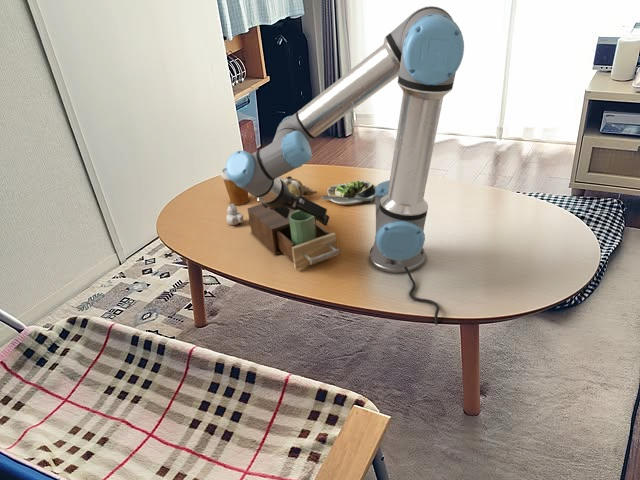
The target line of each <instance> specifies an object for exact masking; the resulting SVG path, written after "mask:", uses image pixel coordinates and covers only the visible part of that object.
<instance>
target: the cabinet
mask: <svg viewBox="0 0 640 480" xmlns="http://www.w3.org/2000/svg"><path fill="white" fill-rule="evenodd" d="M294 206H295V202H294V204H293V207H294ZM288 209H290V208H288ZM246 210H247V213H248V215H247V216H248V220H249V224H250V231H251V234H252V235H253V236H254V237H255V238H256V239H257V240H258V241H259V242H261V244H262V245H264V246H265V247H266V248H267V249H268V250H269V251H270V252H271V253H272V254H273V255H274V256H278V255H281V254H283V253H282V252H281V251H279V250H278V249H277V244H276V237H275V231H276V230H279V229H282V228H285V227H288V226H290V223H289V215H290V214H291V213H292V212H295V211H298V210H292V209H290V212H289V215H288V218H284V217H283V216H281V215H280V214H279V213H277V212H276V211H274V210H271V209H270V207H267V208H264V207H263V205H262V203H260V204H256V205H253V206H250V207H247V209H246ZM314 218H315V217H314ZM315 222H316V223H317V220H316V219H315Z"/></svg>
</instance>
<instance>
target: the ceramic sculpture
mask: <svg viewBox="0 0 640 480" xmlns="http://www.w3.org/2000/svg"><path fill="white" fill-rule="evenodd" d="M278 178H280V179H281V180H282V181H283V182H285V183H286V184H287V186H288V188H289V192H290V193H292V194H293V195H294V196H297V197H299V195H302V196H303V197H305V196H307V197H309V196H312V195H315V194H317V192H318V191H316V190H312V189H311V188H310V187H308V186H306V185H304V184H303V183H302V181H300V180H298V179H296V178H293V177H292V176H291V175H290V176H289V175H288V176H287V177H286V176H285V177H282V176H280V177H278Z"/></svg>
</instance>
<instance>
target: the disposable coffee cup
mask: <svg viewBox="0 0 640 480" xmlns="http://www.w3.org/2000/svg"><path fill="white" fill-rule="evenodd" d="M220 176H221V178H222V179H223V182H224V185H225V189H226V192H227V195H228V198H229V202H230V203H231V204H234V205H235V206H242V205H245V204H247V203H248V202H249V192H247V191H246V190H244V189H242V188H241V187H239V186H237V185H236V184H235V183H234V182H233V181H232V180H230V179H229V177H228V176H227V174H226V166H225V167H223V168H222V169H221V174H220Z"/></svg>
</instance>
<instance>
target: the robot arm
mask: <svg viewBox="0 0 640 480" xmlns="http://www.w3.org/2000/svg"><path fill="white" fill-rule="evenodd" d="M462 33H463V32H462V31H461V28H460V27H459V25H458V24H457V22H455V21H454V19H453V17H452V15H450V13H449V12H448V11H446V10H445V9H444V8H441V7H439V6H431V5H430V6H424V7H421V8H419V9H416V10H415V11H414V12H412V13H411V14H410V15H409V16H408V17H406V19H405V20H403V21H402V22H401V23H400V24H399V25H398V26H396V27H395V28H394V29H393V30H391V32H389V33H388V34H387V35H386V36H384V39H383V44H382V45H381V46H379V47H378V48H377V49H375V50H374V51H373V52H372V53H371V54H369V55H368V56H367V57H365V58H363V60H362V61H360V62H359V63H357V64H356V65H355V66H354V67H352V68H351V69H350V70H349V71H347V72H346V73H344V74H343V75H342V76H341V77H340V78H338V79H337V80H336V81H334V83H332V84H331V85H329V86H328V87H327V88H325V89H324V90H323V91H321V93H319V94H318V95H317V96H315V97H314V98H313V99H312V100H310V101H309V102H308V103H307V104H305V105H303V107H302V108H301V109H299V110H298V111H297V112H295V113H294V114H292V115H288V116H286V117H284V118H283V119H282V121H280V123H279V124H278V126H277V128H276V132H275V135H274V137H273V139H272V142H270V144H268V145H266V146H264V147H263V148H260V149H258V150H256V151H254V152H253V153H250V152H248V151H246V150H237V151H235V152H233V153H231V154H230V156H228V158H227V160H226V163H225V167H226V174H227V176H228V177H229V179H230V180H232V181H233V182H234V183H235V184H236V185H237V186H239V187H241V188H242V189H244V190H246V191H247V192H248V194H250V195H251V196H252V197H254V198H256V200H257V202H259V203H260V204H262V205H263V207H264V208H267V207H270V209H271V210H274V211H276V212H277V213H279V214H280V215H281V216H283V217H284V218H288V215H289V212H290V209H292V210H300V211H302V212H305V213H307V214H310V215H312V216H314V217H315V219H316V222H317V221H318V222H319V223H320V224H322V225H323V226H325V227H328V224H329V220H330V215H328V214H327V213H328V212H327V211H328V209H327V208H326V207H324V206H322V205H319V204H318V203H316V202H314V201H311V200H310V199H307V197H305V196H304V195H303V196H302V195H299V197H297V196H294V195H293V194H292V193H290V192H289V188H288V186H287V184H286V183H285V182H283V181H282V180H281V179H280V178H278V177H282V176H284V175H286V174H288V173H289V172H292V171H294V170H295V169H298V168H301V167H302V166H303V165H305V164H306V163H308V162H309V161H311V160H312V156H313V153H312V148H311V146H310V142H312V141H313V140H315V139H316V138H317V137H318V136H319V135H321V134H323V133H324V132H325V131H326V130H328V129H329V128H331V127H332V126H333V125H334V124H336V123H337V122H338V121H340V120H341V119H343V118H344V117H345V116H347V115H348V114H350V113H351V112H352V111H353V110H354V109H356V108H357V107H358V106H360V105H362V104H363V103H364V102H365V101H367V100H368V99H369V98H371V97H372V96H373V95H375V94H376V93H378V92H379V91H380V90H381V89H383V88H384V87H386V86H387V85H388V84H390V83H391V82H392V81H394V80H395V79H397V84H398V86H399V87H400V89H401V90H402V99H401V103H400V104H401V105H400V112H399V119H398V123H397V131H396V137H395V144H394V150H393V157H392V163H391V171H390V177H389V180H385V181H382V182H380V183H378V184H377V185H376V187H375V200H374V201H375V236H374V242H373V245H372V247H371V248H370V251H369V254H370V263H371V264H372V266H373V267H374V268H376V269H377V270H380V271H382V272H385V273H391V274H404V273H406V274H407V276H408V278H409V280H410V281H411V284H412V287H411V289H410V291H409V294H408V295H409V298H411V299H412V300H413V301H416V302H422V303H428V304H431V305H433V306H434V307H435V313H434V325H435V326H438V325H439V321H438V319H439V317H438V316H439V312H440V306H439V304H438V303H437V302H436V301H434V300H432V299H428V298H419V297H416V296H414V295H413V293H414V291H415V290H416V286H417V283H416V281H415V280H414V278H413V276H412V274H411V273H410V272H412V271H415V270H417V269H419V268H420V267H421V266H422V265H423V264H424V263H425V257H426V254H425V249H424V245H425V241H426V235H425V226H426V220H427V214H428V209H429V204H428V202H427V201H426V199H424V197H425V193H426V187H427V182H428V176H429V173H430V168H431V167H430V166H431V161H432V157H433V152H434V147H435V142H436V137H437V132H438V126H439V123H440V116H441V111H442V106H443V102H444V97H445V96H446V95H447V94H449V93H451V91H453V88H454V82H455V78H456V73H457V71H458V69H459V68H460V66H461V64H462V61H463V58H464V54H465V53H464V52H465V41H464V36H463V34H462ZM294 202H295V206H294V207H293V204H294ZM288 208H290V209H288Z"/></svg>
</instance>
